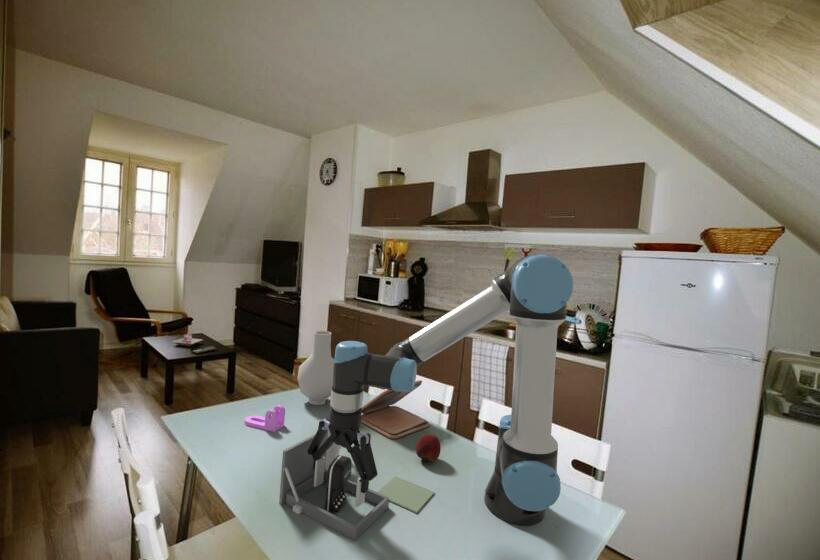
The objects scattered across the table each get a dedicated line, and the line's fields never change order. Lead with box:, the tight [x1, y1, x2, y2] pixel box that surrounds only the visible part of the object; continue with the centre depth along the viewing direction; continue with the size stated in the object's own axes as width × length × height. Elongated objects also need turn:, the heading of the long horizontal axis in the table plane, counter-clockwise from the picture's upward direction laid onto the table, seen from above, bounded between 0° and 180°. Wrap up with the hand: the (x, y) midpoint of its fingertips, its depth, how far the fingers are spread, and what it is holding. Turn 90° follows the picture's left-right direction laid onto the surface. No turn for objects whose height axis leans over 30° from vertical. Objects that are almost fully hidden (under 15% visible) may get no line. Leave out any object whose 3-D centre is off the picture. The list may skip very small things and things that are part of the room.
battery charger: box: [324, 454, 353, 514], centre depth 96 cm, size 7×4×11 cm, turn 165°
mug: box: [317, 419, 342, 470], centre depth 114 cm, size 10×7×12 cm, turn 149°
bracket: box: [244, 404, 286, 433], centre depth 134 cm, size 13×6×7 cm, turn 74°
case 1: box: [278, 430, 390, 541], centre depth 96 cm, size 22×15×13 cm
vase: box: [297, 330, 334, 406], centre depth 157 cm, size 17×16×28 cm
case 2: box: [360, 379, 430, 440], centre depth 145 cm, size 20×21×16 cm
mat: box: [377, 475, 435, 514], centre depth 103 cm, size 12×10×1 cm
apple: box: [415, 433, 442, 462], centre depth 121 cm, size 7×8×8 cm
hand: (338, 493), depth 96 cm, fingers open, 12 cm apart
